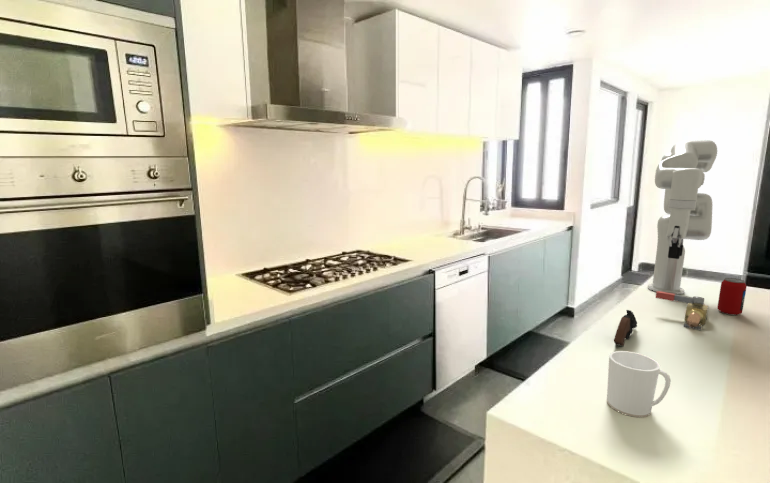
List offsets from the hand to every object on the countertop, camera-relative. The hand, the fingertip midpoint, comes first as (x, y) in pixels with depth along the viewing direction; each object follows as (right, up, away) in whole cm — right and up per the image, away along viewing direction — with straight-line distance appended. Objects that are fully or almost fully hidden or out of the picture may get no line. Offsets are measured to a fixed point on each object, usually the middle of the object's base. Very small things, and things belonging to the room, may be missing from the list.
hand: (674, 256), depth 141 cm
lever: (-2, -15, -5) cm, 16 cm away
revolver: (-30, -24, -21) cm, 44 cm away
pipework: (+2, -21, -7) cm, 22 cm away
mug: (-49, -30, -57) cm, 81 cm away
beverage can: (+20, -20, +1) cm, 28 cm away
